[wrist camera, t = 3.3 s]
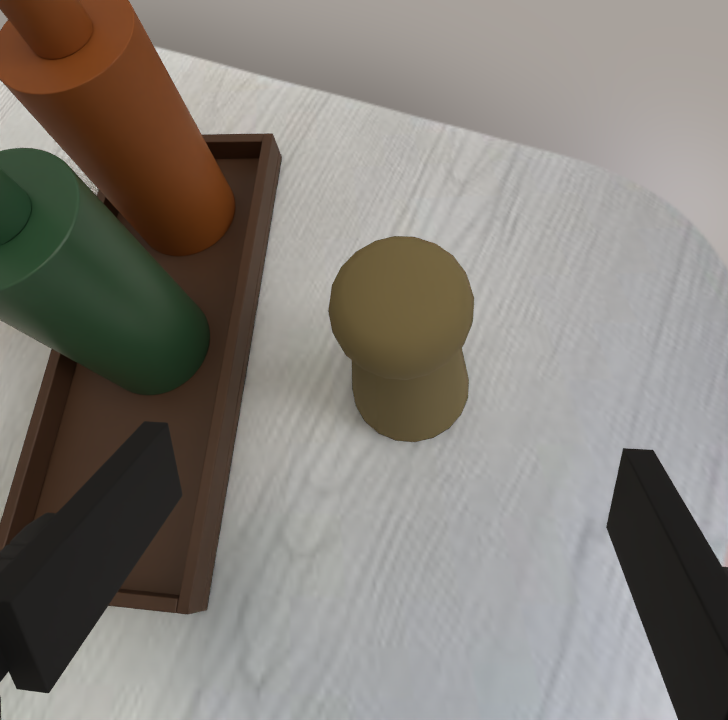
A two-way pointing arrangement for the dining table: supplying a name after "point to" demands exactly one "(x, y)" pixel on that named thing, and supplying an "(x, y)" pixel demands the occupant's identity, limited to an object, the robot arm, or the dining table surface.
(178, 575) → the tray
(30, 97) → the amber bottle
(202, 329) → the green bottle
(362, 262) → the cork
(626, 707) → the dining table surface
